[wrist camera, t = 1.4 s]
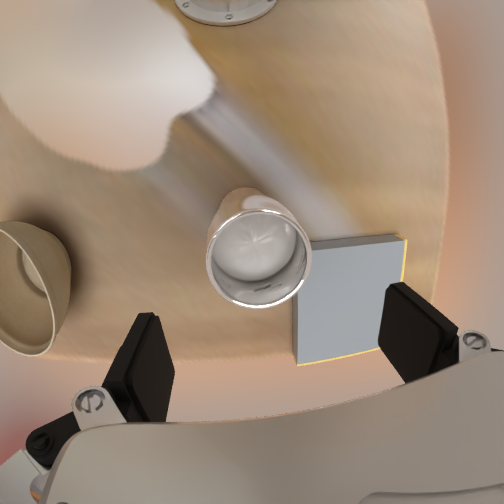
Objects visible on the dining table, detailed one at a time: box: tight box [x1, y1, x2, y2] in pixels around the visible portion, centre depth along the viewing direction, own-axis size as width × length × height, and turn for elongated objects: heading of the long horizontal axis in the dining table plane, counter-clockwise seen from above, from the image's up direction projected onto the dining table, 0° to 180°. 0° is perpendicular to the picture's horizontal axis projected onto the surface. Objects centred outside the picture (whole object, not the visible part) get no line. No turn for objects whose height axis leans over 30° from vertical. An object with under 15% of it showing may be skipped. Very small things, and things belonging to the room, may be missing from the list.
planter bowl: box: [0, 221, 71, 357], centre depth 25 cm, size 16×16×11 cm
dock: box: [293, 234, 407, 366], centre depth 34 cm, size 17×15×3 cm
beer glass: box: [205, 187, 312, 309], centre depth 24 cm, size 7×7×15 cm
